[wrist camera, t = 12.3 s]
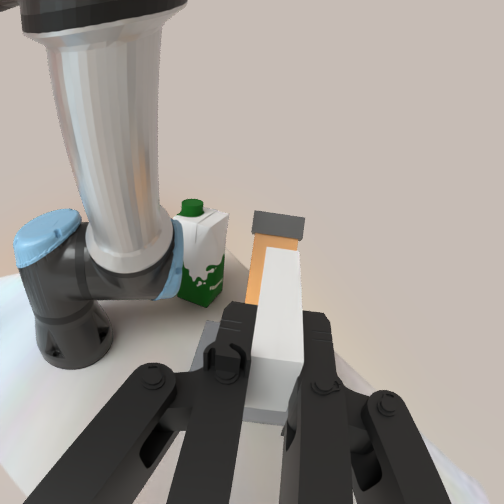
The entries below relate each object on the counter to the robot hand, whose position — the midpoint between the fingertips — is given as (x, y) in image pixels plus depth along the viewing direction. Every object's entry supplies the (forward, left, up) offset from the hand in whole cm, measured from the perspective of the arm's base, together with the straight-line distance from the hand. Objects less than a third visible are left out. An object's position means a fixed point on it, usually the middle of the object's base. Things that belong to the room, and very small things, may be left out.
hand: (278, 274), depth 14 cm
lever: (-10, +14, -26) cm, 31 cm away
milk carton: (-34, +22, -32) cm, 52 cm away
